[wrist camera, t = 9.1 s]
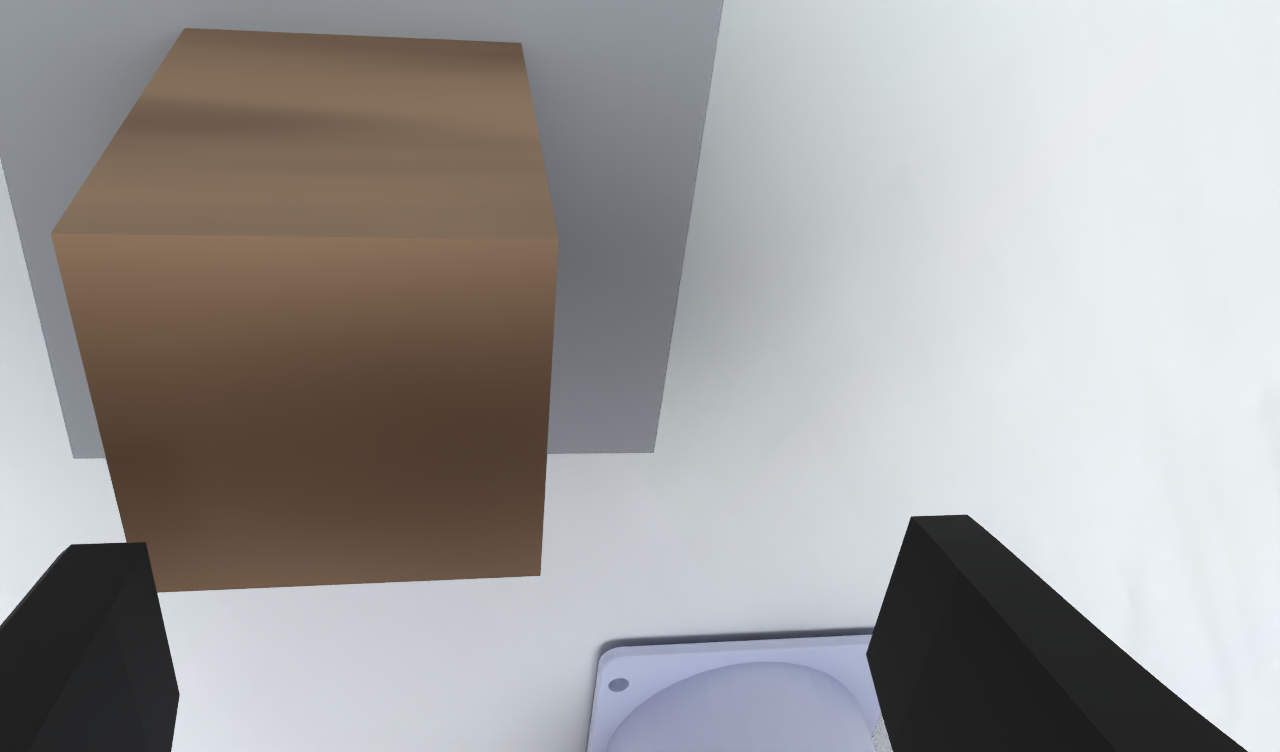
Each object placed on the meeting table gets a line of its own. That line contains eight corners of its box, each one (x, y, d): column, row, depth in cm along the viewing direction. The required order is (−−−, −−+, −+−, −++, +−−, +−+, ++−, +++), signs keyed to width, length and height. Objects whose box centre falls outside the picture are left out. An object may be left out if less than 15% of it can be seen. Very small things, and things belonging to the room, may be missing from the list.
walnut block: (513, 313, 18) (539, 576, 13) (227, 314, 17) (139, 593, 12) (520, 42, 15) (558, 240, 10) (185, 27, 14) (51, 233, 9)
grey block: (629, 362, 22) (653, 452, 20) (117, 359, 20) (73, 458, 18) (698, -166, 17) (743, -131, 14) (-4, -241, 15) (-90, -214, 12)
